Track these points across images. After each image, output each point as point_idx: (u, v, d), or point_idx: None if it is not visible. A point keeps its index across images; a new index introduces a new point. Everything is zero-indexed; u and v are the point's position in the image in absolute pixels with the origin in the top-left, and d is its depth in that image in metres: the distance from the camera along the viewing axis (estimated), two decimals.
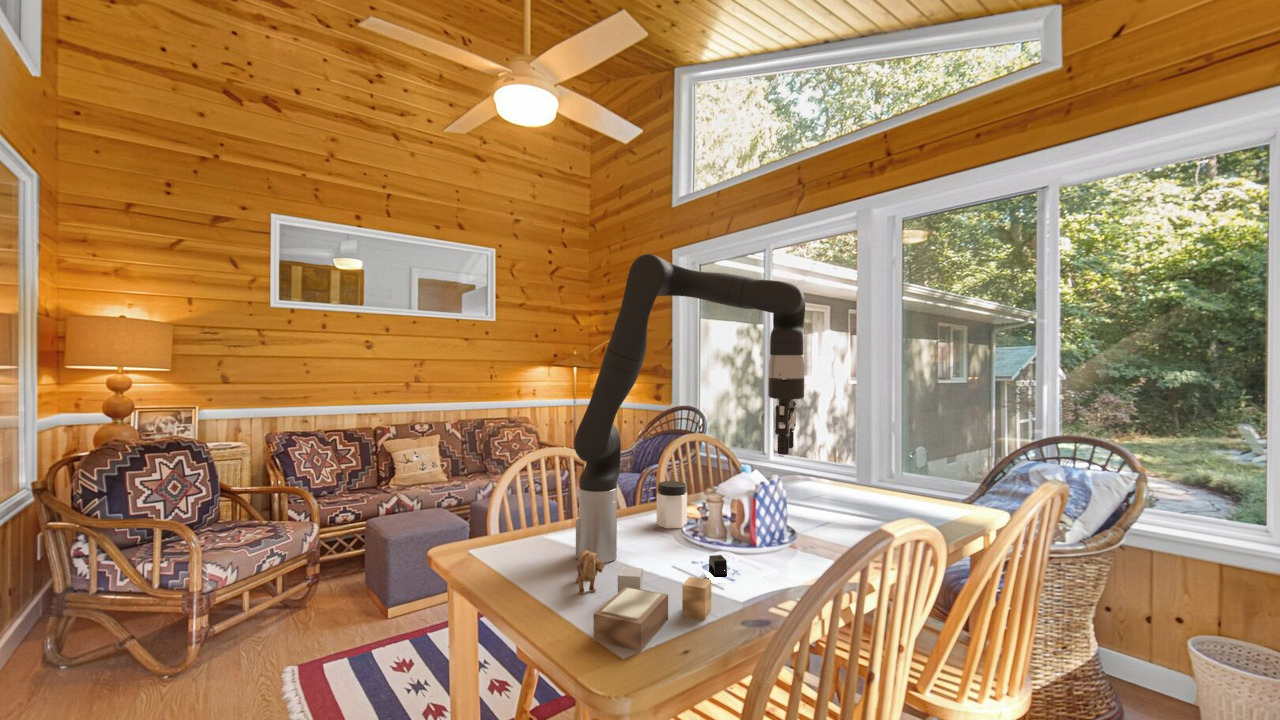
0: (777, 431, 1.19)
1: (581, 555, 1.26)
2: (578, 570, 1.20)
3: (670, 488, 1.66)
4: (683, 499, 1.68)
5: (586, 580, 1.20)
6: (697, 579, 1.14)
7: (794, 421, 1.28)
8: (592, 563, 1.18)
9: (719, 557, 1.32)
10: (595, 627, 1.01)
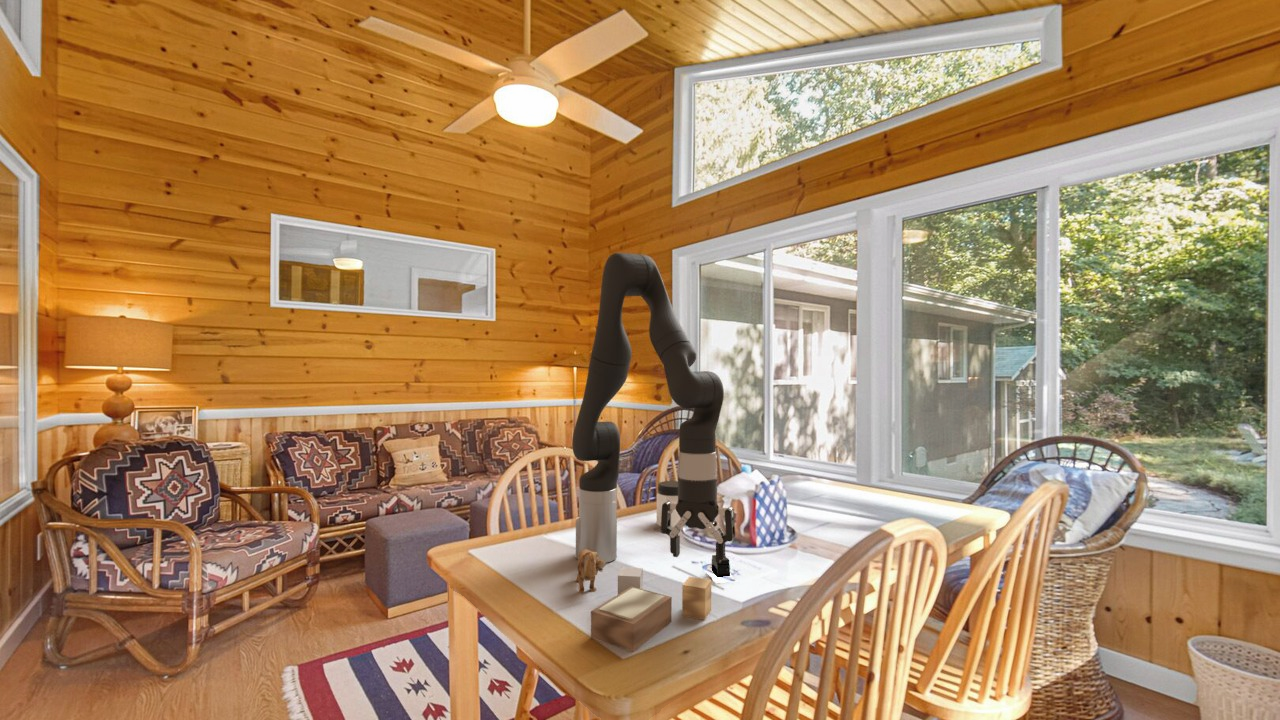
0: (732, 537, 1.09)
1: (581, 554, 1.27)
2: (578, 569, 1.21)
3: (670, 488, 1.66)
4: None
5: (586, 579, 1.20)
6: (697, 579, 1.14)
7: None
8: (592, 562, 1.19)
9: None
10: (592, 624, 1.02)
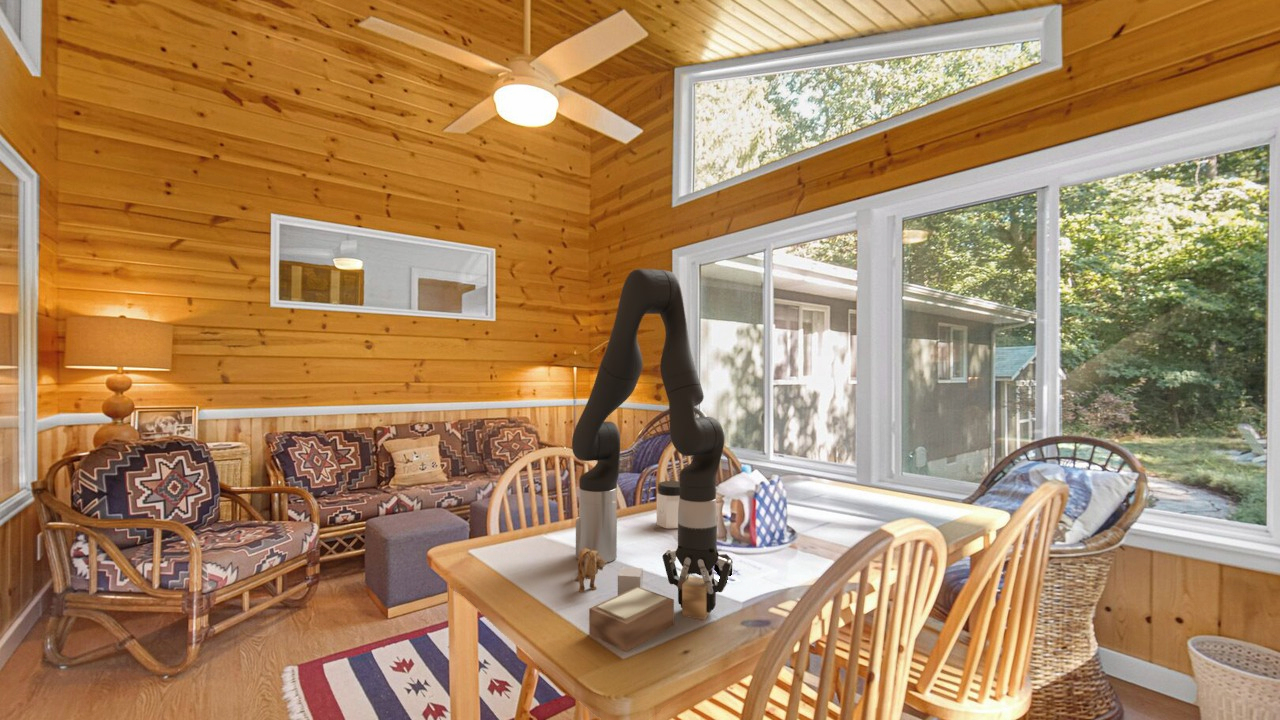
0: None
1: (581, 553, 1.28)
2: (579, 568, 1.22)
3: (670, 488, 1.66)
4: None
5: (587, 578, 1.21)
6: (697, 579, 1.14)
7: None
8: (593, 561, 1.20)
9: (724, 556, 1.32)
10: (590, 622, 1.04)
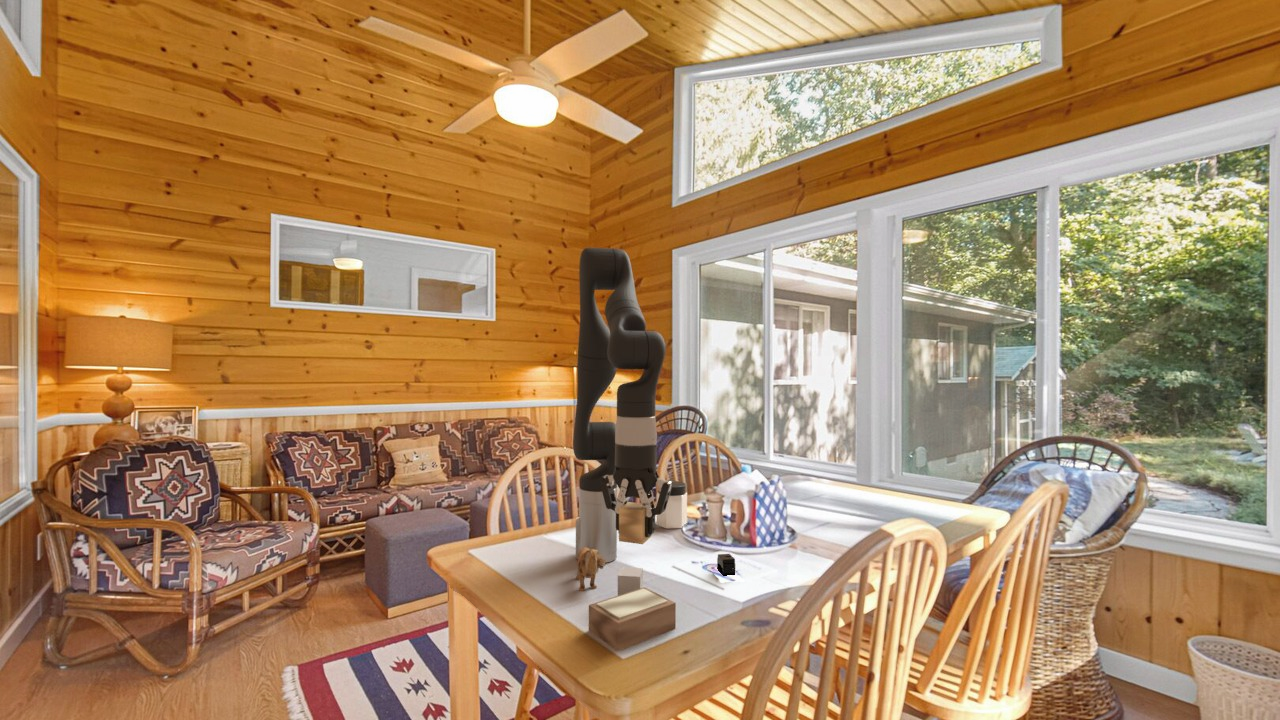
0: (661, 511, 1.03)
1: (581, 552, 1.28)
2: (579, 567, 1.22)
3: None
4: (683, 499, 1.68)
5: (587, 576, 1.22)
6: (636, 504, 1.07)
7: None
8: (594, 560, 1.20)
9: (727, 556, 1.33)
10: (589, 618, 1.05)
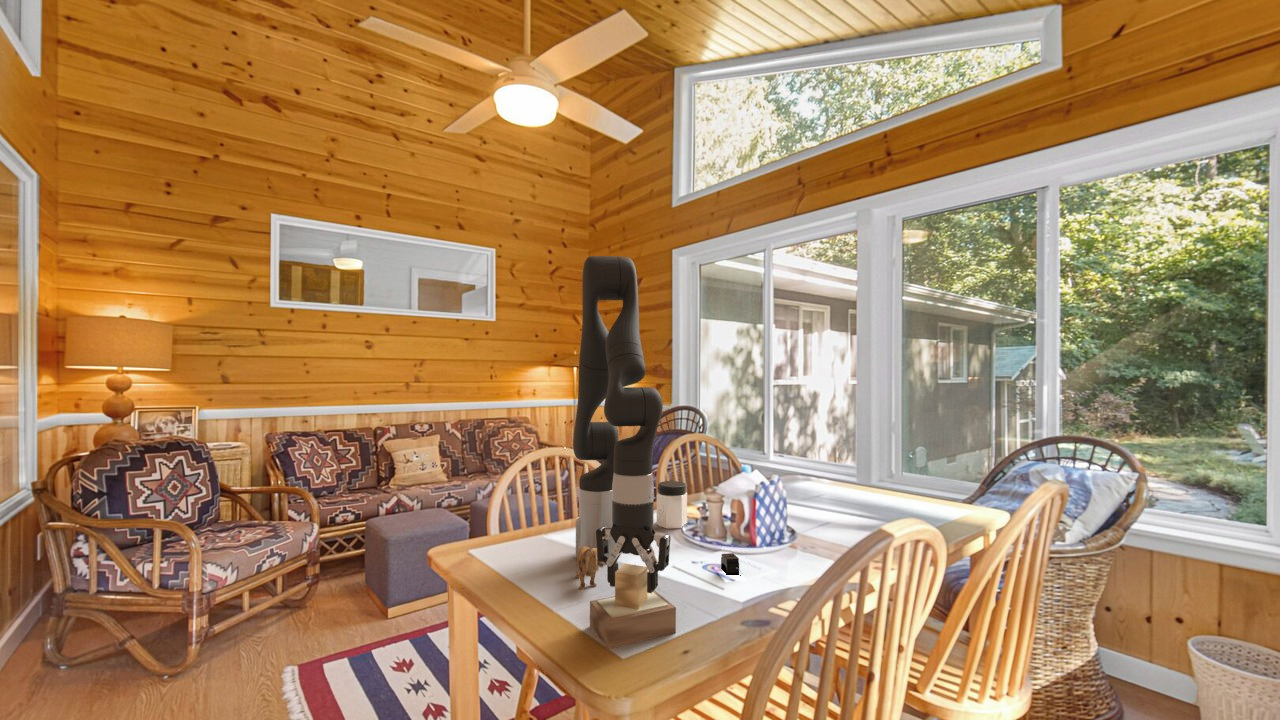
0: (664, 567, 1.02)
1: (580, 551, 1.29)
2: (580, 565, 1.23)
3: (670, 488, 1.66)
4: (683, 499, 1.68)
5: (588, 575, 1.23)
6: (632, 566, 1.07)
7: None
8: (594, 558, 1.21)
9: (731, 555, 1.33)
10: (590, 614, 1.07)
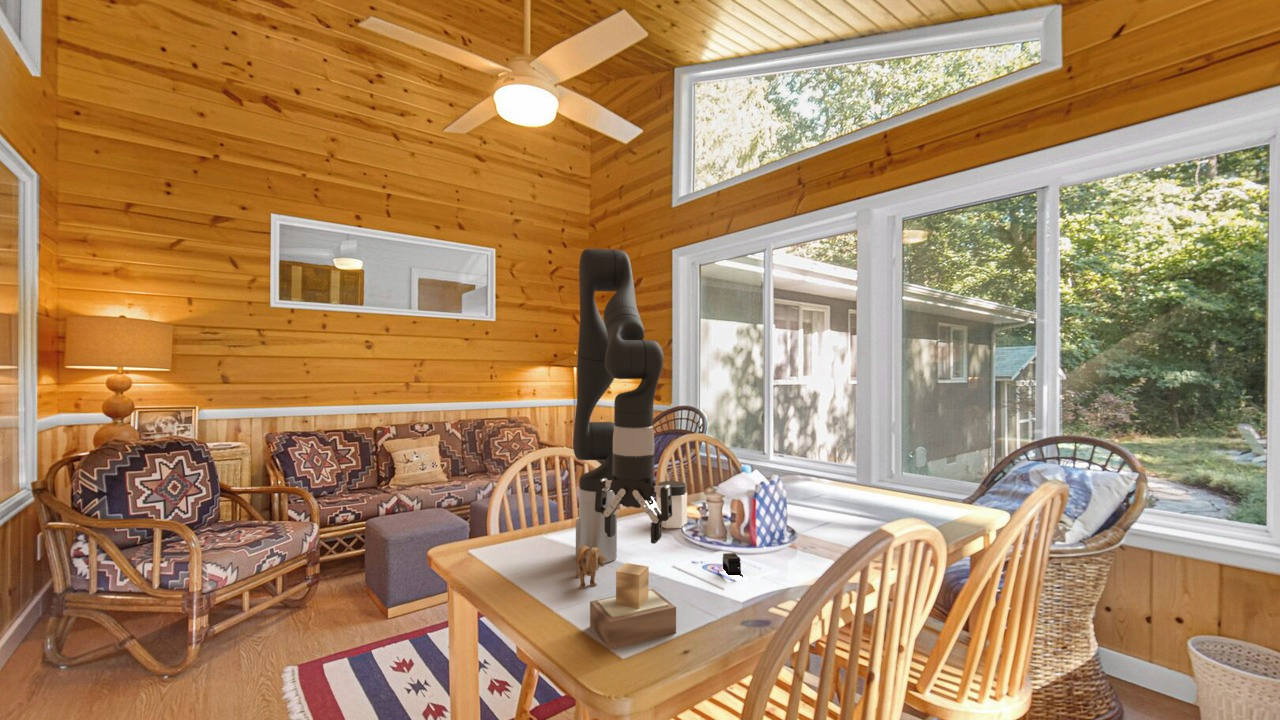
0: (668, 517, 1.02)
1: (580, 550, 1.29)
2: (580, 565, 1.23)
3: None
4: (683, 499, 1.68)
5: (588, 574, 1.23)
6: (633, 566, 1.07)
7: None
8: (594, 558, 1.22)
9: (733, 555, 1.33)
10: (590, 614, 1.06)
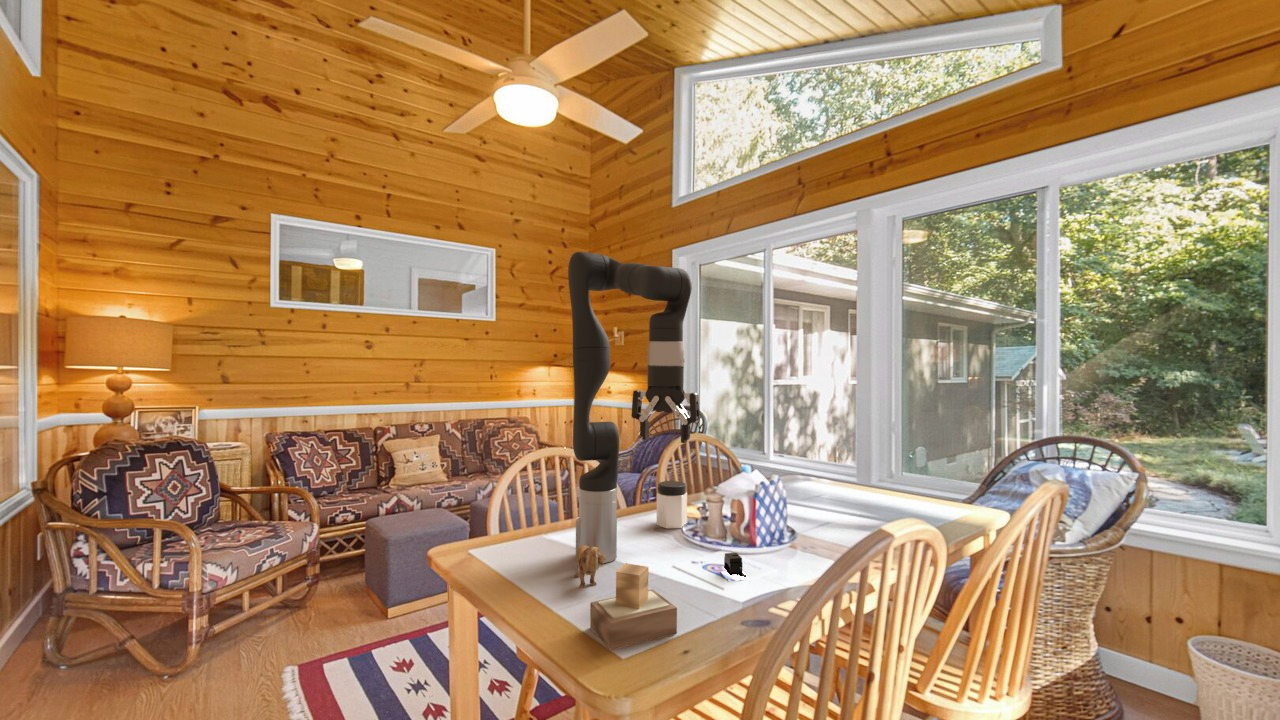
0: (696, 419, 1.18)
1: (580, 550, 1.30)
2: (580, 564, 1.24)
3: (670, 488, 1.66)
4: (683, 499, 1.68)
5: (588, 574, 1.23)
6: (633, 566, 1.07)
7: None
8: (594, 557, 1.22)
9: (734, 555, 1.33)
10: (591, 615, 1.06)
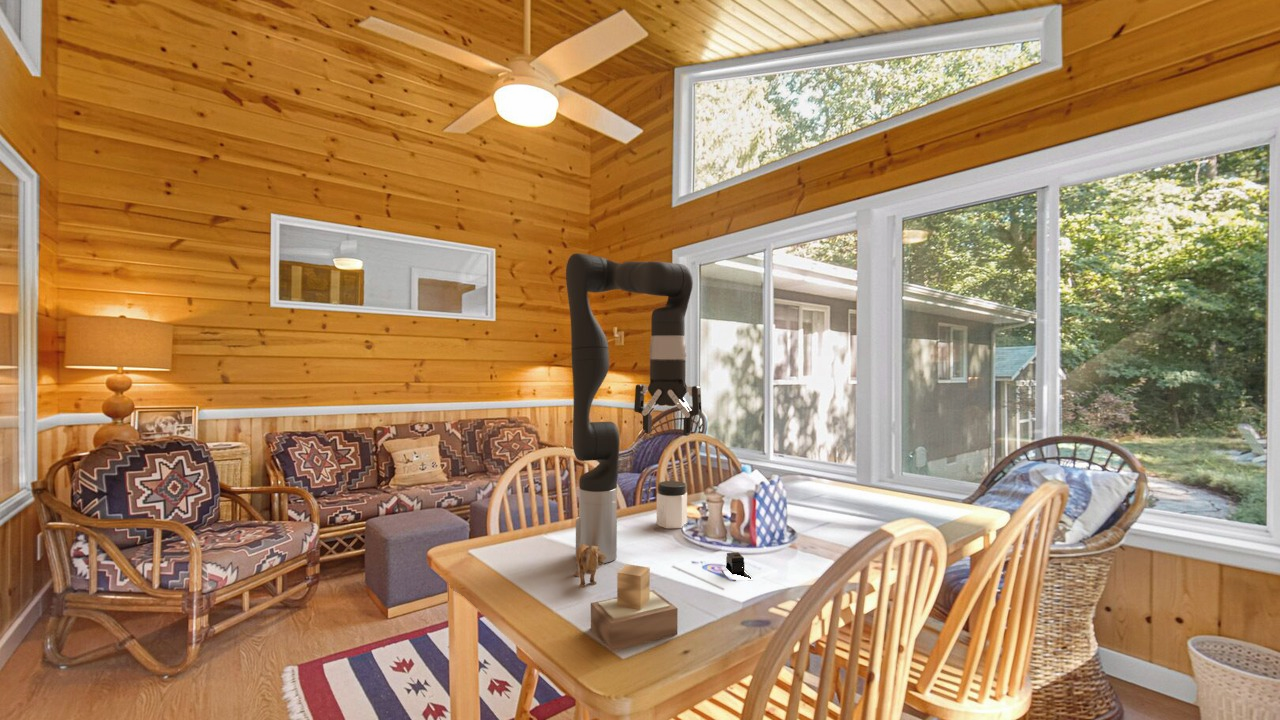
0: (698, 411, 1.20)
1: (580, 549, 1.30)
2: (580, 563, 1.24)
3: (670, 488, 1.66)
4: (683, 499, 1.68)
5: (588, 573, 1.24)
6: (634, 567, 1.07)
7: (658, 403, 1.25)
8: (595, 556, 1.22)
9: (736, 554, 1.34)
10: (591, 616, 1.06)
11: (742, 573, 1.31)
